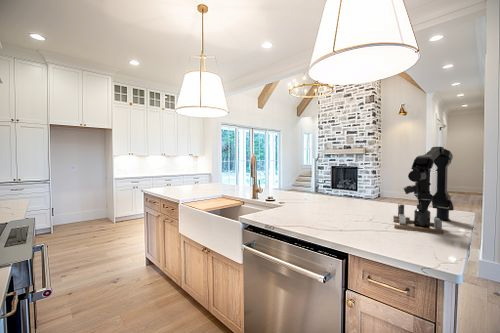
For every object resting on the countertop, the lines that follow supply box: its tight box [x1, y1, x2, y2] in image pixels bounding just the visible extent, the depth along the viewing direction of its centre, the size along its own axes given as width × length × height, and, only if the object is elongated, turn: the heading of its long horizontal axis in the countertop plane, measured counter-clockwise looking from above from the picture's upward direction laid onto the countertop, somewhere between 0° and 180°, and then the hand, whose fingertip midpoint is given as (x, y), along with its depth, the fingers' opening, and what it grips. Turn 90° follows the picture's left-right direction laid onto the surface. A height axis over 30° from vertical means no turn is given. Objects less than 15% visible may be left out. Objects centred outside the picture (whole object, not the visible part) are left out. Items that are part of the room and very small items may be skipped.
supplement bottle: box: [413, 203, 431, 228], centre depth 123 cm, size 7×7×12 cm
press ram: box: [397, 204, 407, 226], centre depth 133 cm, size 18×3×8 cm, turn 150°
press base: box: [392, 215, 444, 235], centre depth 128 cm, size 22×20×5 cm
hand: (422, 210), depth 124 cm, fingers open, 9 cm apart
